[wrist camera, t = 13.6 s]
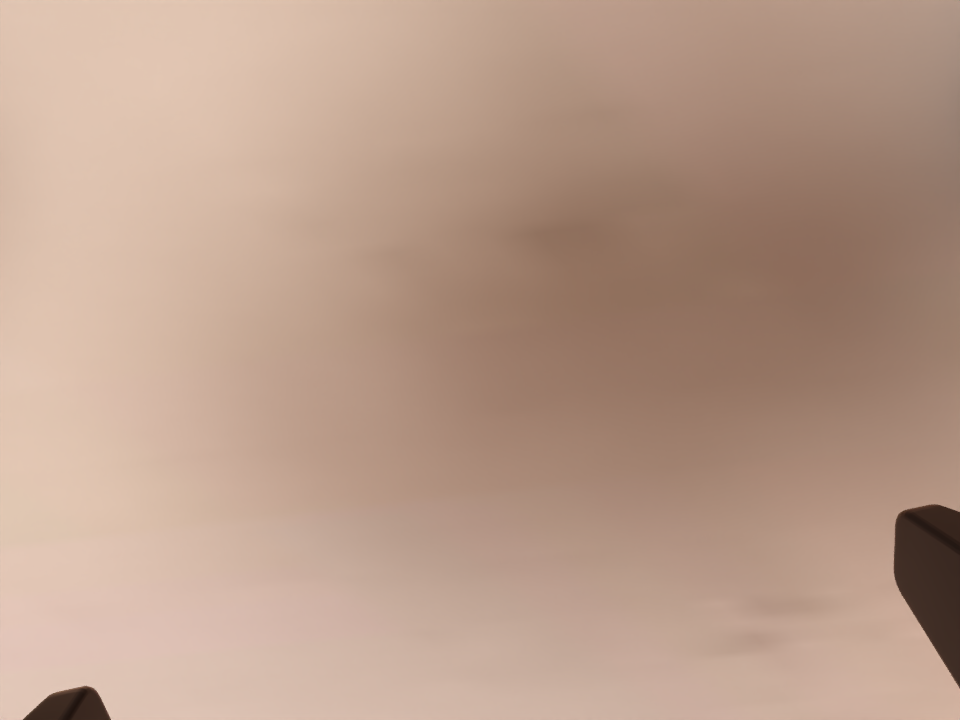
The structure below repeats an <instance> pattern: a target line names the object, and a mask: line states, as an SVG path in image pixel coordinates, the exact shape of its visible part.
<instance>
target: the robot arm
mask: <svg viewBox="0 0 960 720" xmlns="http://www.w3.org/2000/svg"><path fill="white" fill-rule="evenodd" d="M894 576H895V580H896V583H897V586H898V588H899V591H900V592H901V594H902V596H903V597H904V599H905V601H906V602H907V604H908V606H909V607H910V609H911V610H912V612H913V614H914V615H915V617H916V618H917V620H918V622H919V623H920V625H921V627H922V628H923V630H924V631H925V633H926V635H927V636H928V638H929V639H930V641H931V643H932V644H933V646H934V648H935V649H936V651H937V652H938V654H939V656H940V657H941V659H942V660H943V662H944V664H945V665H946V667H947V669H948V670H949V672H950V673H951V675H952V677H953V678H954V680H955V681H956V683H957V685H958V686H959V688H960V512H958V511H955V510H952V509H949V508H947V507H944V506H941V505H935V504H934V505H926V506H922V507H917V508H912V509H908V510H904V511H902V512H901V513H900V514H899V515H898V517H897V519H896V524H895V547H894ZM23 720H111V719H110V717H109V714H108V712H107V710H106V708H105V706H104V704H103V702H102V700H101V698H100V696H99V694H98V693H97V691H96V690H95V689H94V688H92V687H88V686H83V687H78V688H73V689H69V690H64V691H59V692H56V693H53V694H51V695H49V696H48V697H47V698H46V699H45V700H43V701H42V702H41V703H40V704H39V705H38V706H37V707H36V708H35V709H34V710H33V711H31V712H30V713H29V714H28V715H27V716H26V717H25V718H24V719H23Z"/></svg>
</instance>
